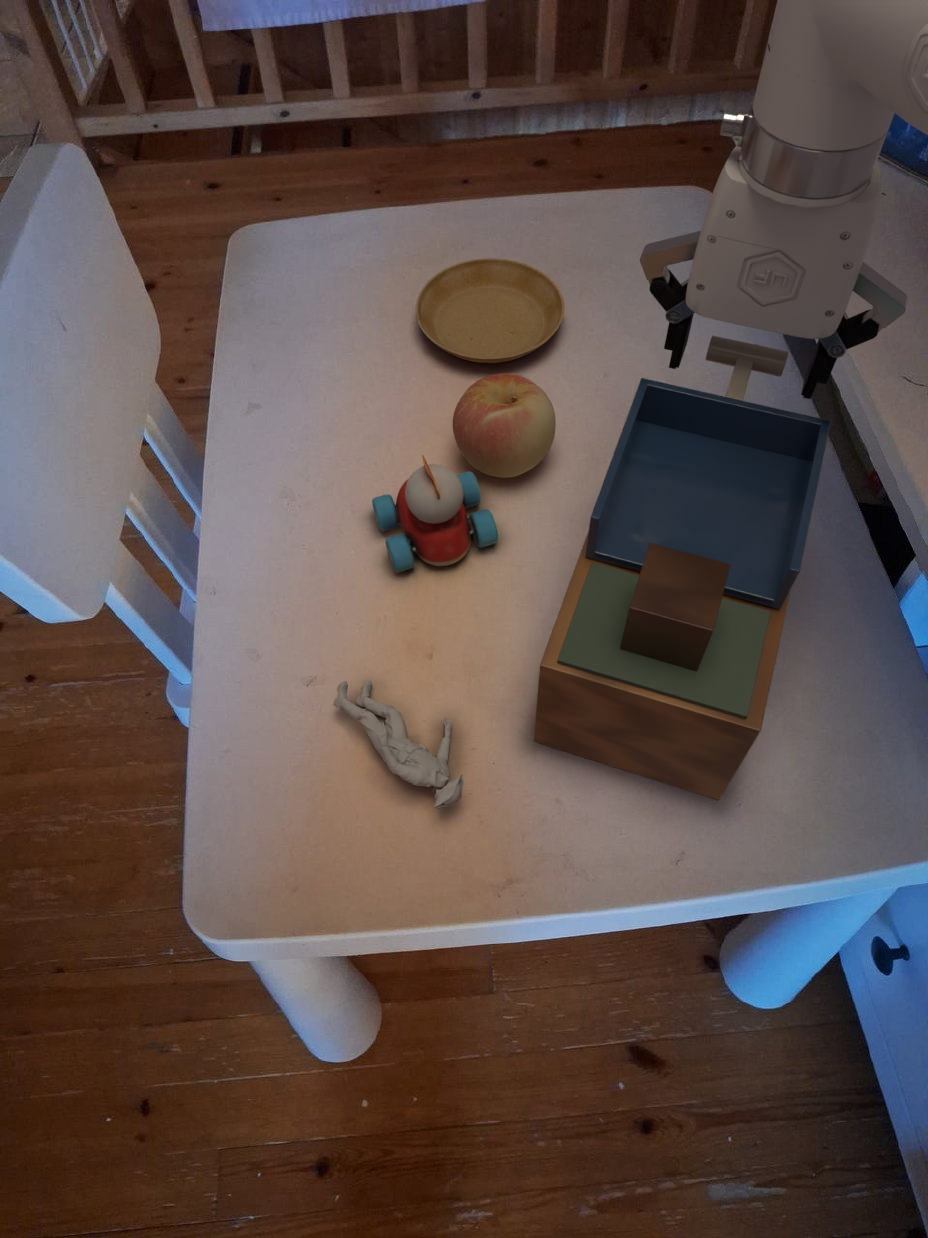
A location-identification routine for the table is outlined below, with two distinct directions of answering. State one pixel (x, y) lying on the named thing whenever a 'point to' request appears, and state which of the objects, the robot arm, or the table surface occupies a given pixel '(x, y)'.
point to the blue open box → (714, 479)
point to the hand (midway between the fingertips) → (742, 370)
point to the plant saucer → (489, 309)
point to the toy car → (434, 517)
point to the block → (674, 606)
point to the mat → (713, 686)
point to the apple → (504, 425)
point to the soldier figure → (403, 746)
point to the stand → (646, 712)
